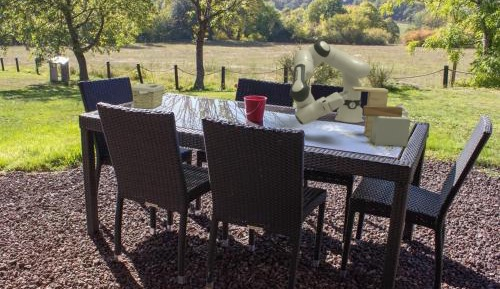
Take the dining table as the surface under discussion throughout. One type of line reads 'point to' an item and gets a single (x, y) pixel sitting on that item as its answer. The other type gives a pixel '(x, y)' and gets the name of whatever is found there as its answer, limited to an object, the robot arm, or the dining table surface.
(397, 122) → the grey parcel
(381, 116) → the letter
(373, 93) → the pine shelf
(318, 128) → the dining table surface
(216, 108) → the dining table surface
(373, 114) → the walnut bar
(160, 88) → the storage basket
